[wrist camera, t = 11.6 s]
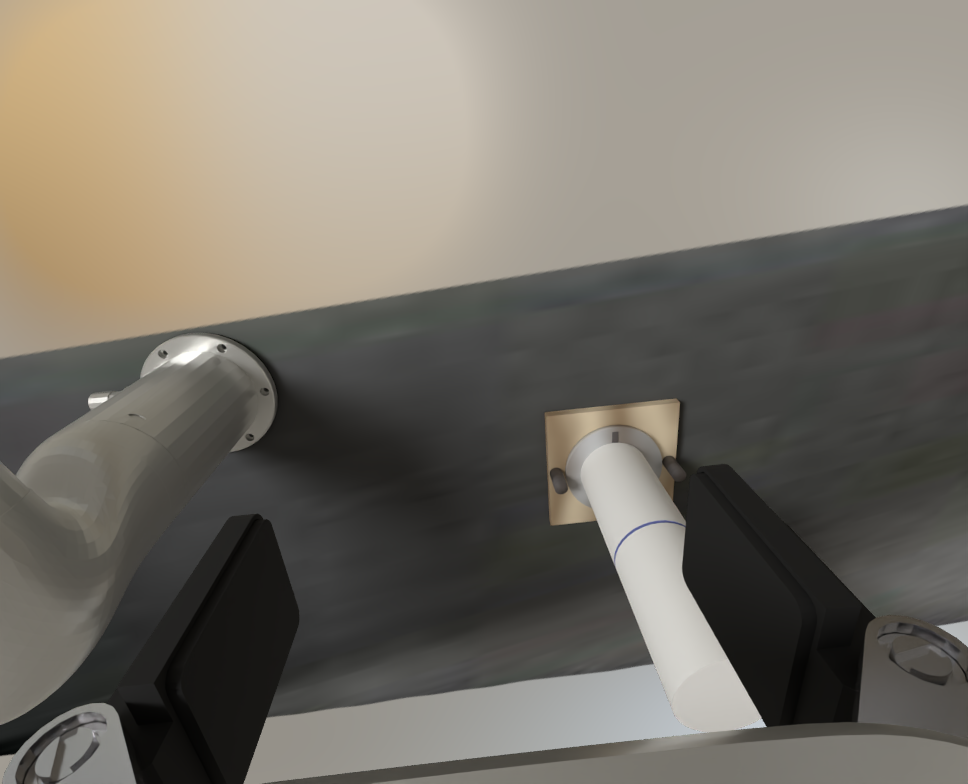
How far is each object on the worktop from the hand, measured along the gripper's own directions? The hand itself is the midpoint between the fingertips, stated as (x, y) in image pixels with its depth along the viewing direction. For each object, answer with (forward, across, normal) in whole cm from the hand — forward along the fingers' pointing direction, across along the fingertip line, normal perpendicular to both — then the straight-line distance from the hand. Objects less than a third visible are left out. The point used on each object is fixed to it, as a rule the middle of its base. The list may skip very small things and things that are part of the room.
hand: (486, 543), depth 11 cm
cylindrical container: (+37, -14, +23) cm, 45 cm away
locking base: (+38, -14, +23) cm, 47 cm away
